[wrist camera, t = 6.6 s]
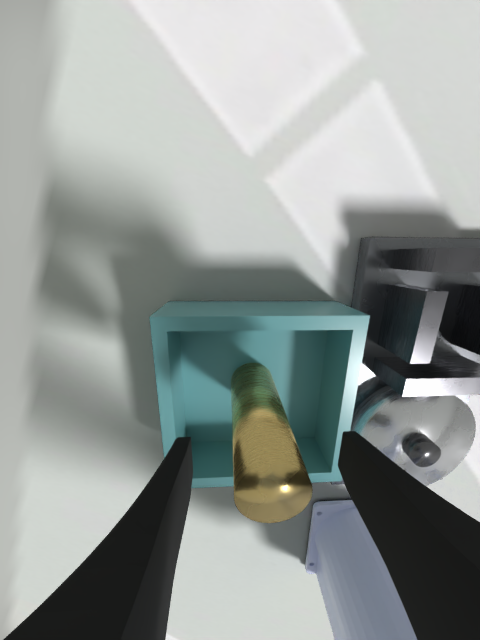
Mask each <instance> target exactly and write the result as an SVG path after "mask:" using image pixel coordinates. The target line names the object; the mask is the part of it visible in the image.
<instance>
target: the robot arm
mask: <svg viewBox="0 0 480 640" xmlns="http://www.w3.org/2000/svg"><path fill="white" fill-rule="evenodd" d="M338 468H339V471H340V473H341V476H342V478H343V481H344V483H345V486H346V488H347V491H348V493H349V495H350V497H351V498H352V500H339V501H320V502H316V503H315V504H314V505H313V511H312V518H311V526H310V534H309V541H308V549H307V556H306V564H305V569H306V572H307V573H309V574H314V573H316V574H317V578H318V582H319V585H320V589H321V592H322V596H323V599H324V603H325V607H326V610H327V614H328V617H329V621H330V624H331V628H332V632H333V635H334V639H335V640H480V522H478V521H477V520H475V519H474V518H472V517H470V516H469V515H467V514H466V513H464V512H463V511H461V510H460V509H458V508H457V507H455V506H454V505H452V504H451V503H449V502H448V501H446V500H445V499H443V498H442V497H440V496H439V495H437V494H436V493H435V492H433V491H432V490H430V489H429V488H428V487H426V486H425V485H424V484H422V483H421V482H419V481H418V480H417V479H415V478H414V477H413V476H411V475H410V474H409V473H407V472H406V471H405V470H403V469H402V468H401V467H400V466H398V465H397V464H396V463H395V462H393V461H392V460H391V459H390V458H388V457H387V456H386V455H385V454H383V453H382V452H381V451H380V450H378V449H377V448H376V447H375V446H373V445H372V444H371V443H370V442H369V441H367V440H366V439H365V438H364V437H362V436H361V435H360V434H358V433H357V432H356V431H344V432H343V434H342V441H341V447H340V453H339V459H338ZM192 478H193V460H192V444H191V437H177V438H176V439H175V441H174V443H173V445H172V446H171V448H170V450H169V452H168V453H167V455H166V457H165V458H164V460H163V461H162V463H161V465H160V466H159V468H158V469H157V471H156V472H155V474H154V475H153V477H152V478H151V480H150V481H149V483H148V484H147V485H146V487H145V488H144V490H143V491H142V492H141V494H140V495H139V496H138V498H137V499H136V500H135V502H134V503H133V504H132V506H131V507H130V508H129V510H128V511H127V512H126V513H125V515H124V516H123V517H122V518H121V520H120V521H119V522H118V523H117V524H116V526H115V527H114V528H113V529H112V530H111V532H110V533H109V534H108V535H107V536H106V537H105V538H104V540H103V541H102V542H101V543H100V544H99V545H98V546H97V547H96V549H95V550H94V551H93V552H92V553H91V554H90V555H89V556H88V557H87V558H86V560H85V561H84V562H83V563H82V564H81V565H80V566H79V567H78V568H77V569H76V570H75V571H74V572H73V573H72V574H71V575H70V576H69V577H68V578H67V579H66V580H65V581H64V582H63V583H62V584H61V585H60V586H59V587H58V588H57V589H56V590H55V591H54V592H53V593H52V594H51V595H50V596H49V597H48V598H47V599H46V600H45V601H44V602H43V603H42V604H41V605H40V606H39V607H38V608H37V609H36V610H35V611H34V612H33V613H32V614H31V615H30V616H28V617H27V618H26V619H25V620H24V621H23V622H22V623H21V624H20V625H19V626H18V627H17V628H16V629H14V630H13V631H12V632H11V633H10V634H9V635H8V636H7V637H6V638H5V639H4V640H165V637H166V630H167V622H168V615H169V608H170V601H171V594H172V587H173V580H174V574H175V568H176V563H177V558H178V553H179V549H180V544H181V539H182V534H183V530H184V525H185V520H186V515H187V511H188V506H189V501H190V495H191V486H192Z"/></svg>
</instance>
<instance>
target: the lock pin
mask: <svg viewBox="0 0 480 640" xmlns="http://www.w3.org/2000/svg"><path fill="white" fill-rule="evenodd" d="M231 404H232V441H233V477H234V501H235V504H236V507H237V508H238V510H239V511H240V512H241V513H242V514H243V515H244V516H246V517H247V518H249V519H251V520H254V521H257V522H262V523H276V522H281V521H285V520H288V519H290V518H292V517H294V516H296V515H297V514H299V513H300V512H301V511H302V510H303V509H304V508H305V507H306V506H307V505H308V503H309V501H310V499H311V496H312V491H313V490H312V483H311V481H310V478H309V475H308V472H307V470H306V467H305V464H304V462H303V459H302V456H301V453H300V451H299V448H298V445H297V443H296V440H295V437H294V434H293V432H292V429H291V426H290V424H289V421H288V418H287V415H286V413H285V410H284V407H283V405H282V402H281V399H280V396H279V394H278V391H277V388H276V386H275V383H274V380H273V378H272V375H271V373H270V371H269V370H268V369H267V368H266V367H265V366H263V365H261V364H259V363H247V364H244V365H242V366H240V367H239V368H237V369H236V370H235V372H234V373H233V375H232V378H231Z"/></svg>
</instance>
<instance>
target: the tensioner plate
mask: <svg viewBox="0 0 480 640" xmlns="http://www.w3.org/2000/svg"><path fill="white" fill-rule="evenodd" d="M351 308H353V309H356V310H358V311H360V312H363V313H365V314H368V315H370V318H369V324H368V330H367V336H366V342H365V347H364V353H363V359H362V365H361V371H360V376H359V382H358V388H357V394H356V400H355V406H354V411H353V417H352V423H351V429H350V431H356V432H357V433H358V434H360V435H361V436H362V437H364V438H365V439H366V440H367V441H369V442H370V443H371V444H372V445H373V446H375V447H376V448H377V449H378V450H380V451H381V452H382V453H383V454H385V455H386V456H387V457H388V458H390V459H391V460H392V461H393V462H395V463H396V464H397V465H398V466H400V467H401V468H402V469H403V470H405V471H406V472H407V473H409V474H410V475H411V476H413V477H414V478H415V479H417V480H418V481H419V482H421V483H422V484H424V485H425V486H427V485H429V484H432V483H434V482H436V481H438V480H441V479H443V477H444V476H446V475H447V474H449V473H450V472H451V471H452V470H454V469H455V468H456V467H457V466H458V465H459V464H460V463H461V462H462V460H463V459H464V458H465V456H466V455H467V453H468V452H469V450H470V448H471V446H472V443H473V440H474V437H475V430H476V426H475V419H474V416H473V413H472V411H471V410H470V408H469V407H468V405H467V404H468V401H469V398H470V395H480V239H476V238H405V237H367V238H361V245H360V252H359V258H358V265H357V272H356V279H355V286H354V292H353V299H352V306H351ZM331 484H332V485H334V484H345V483H344V481H343V478H342V481H335V482H331Z"/></svg>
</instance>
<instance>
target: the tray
mask: <svg viewBox="0 0 480 640" xmlns="http://www.w3.org/2000/svg"><path fill="white" fill-rule="evenodd" d="M149 318H150V327H151V337H152V346H153V356H154V365H155V375H156V385H157V394H158V404H159V413H160V423H161V433H162V442H163V452H164V458H165V457H166V455H167V453H168V452H169V450H170V448H171V446H172V445H173V443H174V441H175V439H176V438H177V437H191V444H192V460H193V478H192V486H191V488H206V487H227V486H234V477H233V441H232V404H231V378H232V375H233V373H234V372H235V370H236V369H237V368H239V367H240V366H242V365H244V364H247V363H259V364H261V365H263V366H265V367H266V368H267V369H268V370H269V371H270V373H271V375H272V378H273V380H274V383H275V386H276V388H277V391H278V394H279V396H280V399H281V402H282V405H283V407H284V410H285V413H286V415H287V418H288V421H289V424H290V426H291V429H292V432H293V434H294V437H295V440H296V443H297V445H298V448H299V451H300V453H301V456H302V459H303V462H304V464H305V467H306V470H307V472H308V475H309V478H310V481H311V483H314V482H335V481H342V476H341V473H340V471H339V468H338V459H339V453H340V447H341V441H342V434H343V432H344V431H350V429H351V423H352V417H353V411H354V406H355V400H356V394H357V388H358V382H359V376H360V371H361V365H362V359H363V353H364V347H365V342H366V336H367V330H368V324H369V318H370V315H368V314H365V313H363V312H360V311H358V310H356V309H353V308H351V307H349V306H346V305H344V304H342V303H339V302H337V301H169V302H167V303H166V304H165V305H164V306H162V307H161V308H160V309H159V310H157V311H156V312H155V313H154V314H152V315H151V316H150V317H149Z"/></svg>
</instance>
